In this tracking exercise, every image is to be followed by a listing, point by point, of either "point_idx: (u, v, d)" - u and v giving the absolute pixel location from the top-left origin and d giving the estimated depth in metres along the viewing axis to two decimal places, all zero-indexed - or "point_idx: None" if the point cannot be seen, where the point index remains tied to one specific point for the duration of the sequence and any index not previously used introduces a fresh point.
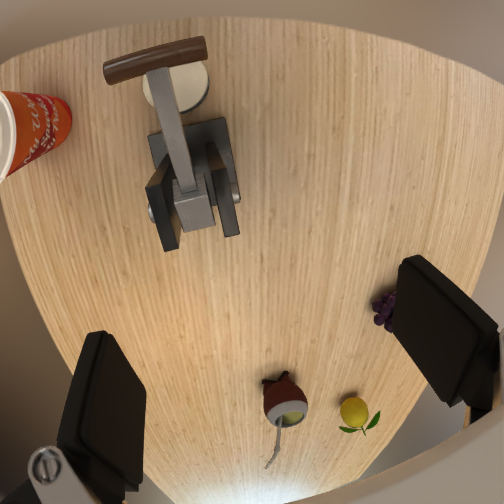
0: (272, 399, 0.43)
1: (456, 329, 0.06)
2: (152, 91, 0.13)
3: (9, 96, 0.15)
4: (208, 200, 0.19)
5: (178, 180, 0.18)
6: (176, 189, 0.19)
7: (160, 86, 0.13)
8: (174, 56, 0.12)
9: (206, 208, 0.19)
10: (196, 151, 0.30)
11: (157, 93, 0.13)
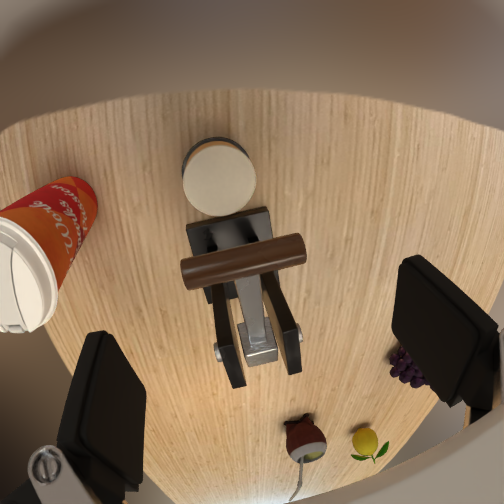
0: (295, 441, 0.44)
1: (456, 329, 0.06)
2: (239, 292, 0.14)
3: (33, 225, 0.15)
4: (277, 350, 0.19)
5: (250, 338, 0.18)
6: (244, 338, 0.20)
7: (249, 288, 0.14)
8: (270, 267, 0.12)
9: (273, 354, 0.20)
10: (238, 245, 0.30)
11: (244, 293, 0.14)
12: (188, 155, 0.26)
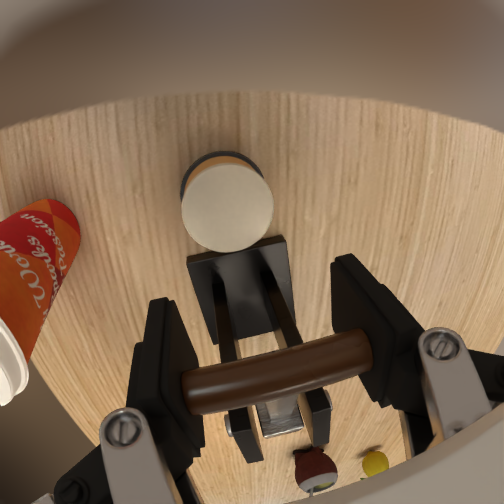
0: (305, 472, 0.39)
1: (374, 328, 0.07)
2: (268, 404, 0.09)
3: None
4: (302, 427, 0.14)
5: (272, 420, 0.13)
6: (263, 414, 0.15)
7: (282, 399, 0.09)
8: (320, 385, 0.07)
9: (297, 429, 0.15)
10: (249, 281, 0.25)
11: (275, 403, 0.09)
12: (188, 174, 0.21)
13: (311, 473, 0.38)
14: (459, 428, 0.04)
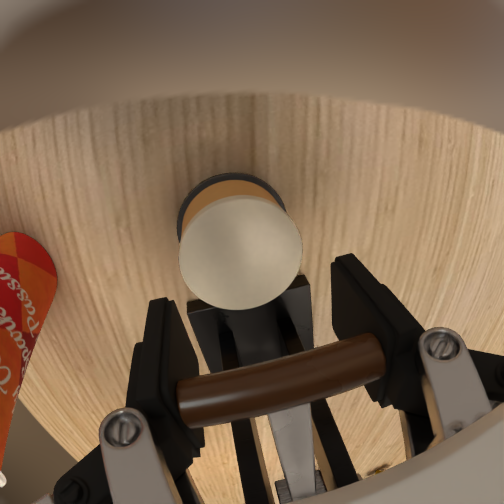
0: None
1: (374, 328, 0.07)
2: (277, 436, 0.07)
3: None
4: None
5: (293, 499, 0.10)
6: (285, 498, 0.10)
7: (292, 428, 0.07)
8: (328, 389, 0.07)
9: None
10: (263, 330, 0.21)
11: (285, 437, 0.07)
12: (186, 203, 0.17)
13: None
14: (459, 428, 0.04)
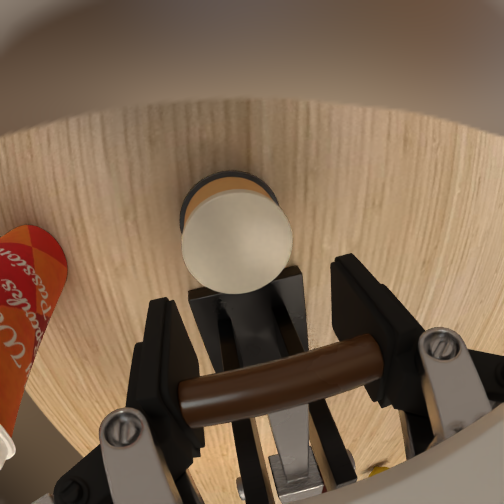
0: None
1: (374, 328, 0.07)
2: (275, 429, 0.08)
3: None
4: (322, 486, 0.11)
5: (287, 476, 0.11)
6: (278, 473, 0.12)
7: (290, 423, 0.07)
8: (327, 392, 0.07)
9: (317, 490, 0.11)
10: (259, 317, 0.22)
11: (283, 430, 0.08)
12: (188, 198, 0.18)
13: None
14: (459, 428, 0.04)
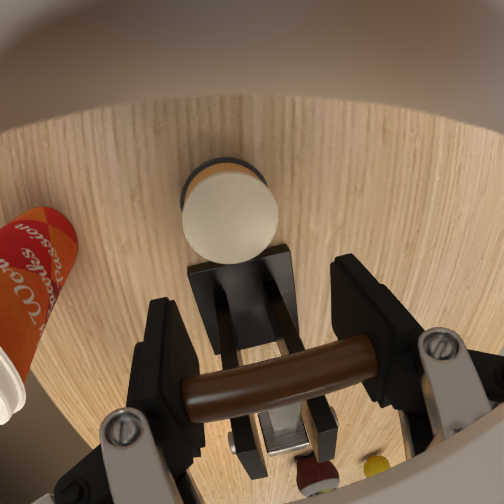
0: (307, 478, 0.38)
1: (373, 328, 0.07)
2: (271, 415, 0.08)
3: None
4: (307, 444, 0.14)
5: (276, 436, 0.13)
6: (267, 431, 0.14)
7: (285, 410, 0.08)
8: (323, 392, 0.07)
9: (302, 446, 0.14)
10: (251, 291, 0.25)
11: (278, 414, 0.08)
12: (188, 181, 0.21)
13: (313, 479, 0.38)
14: (459, 428, 0.04)
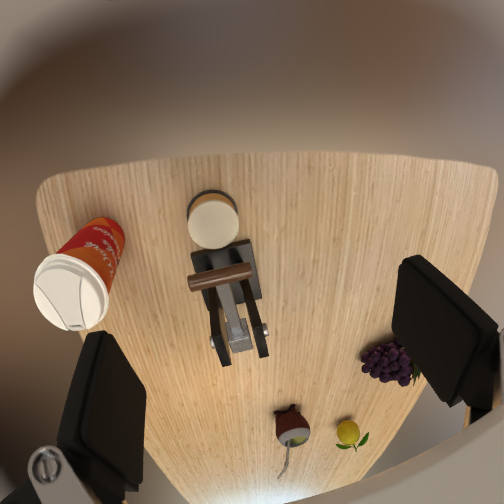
0: (282, 426, 0.54)
1: (456, 329, 0.06)
2: (219, 294, 0.25)
3: (91, 260, 0.26)
4: (250, 339, 0.30)
5: (231, 329, 0.29)
6: (229, 330, 0.30)
7: (224, 292, 0.25)
8: (233, 279, 0.24)
9: (248, 342, 0.30)
10: None
11: (222, 295, 0.25)
12: (191, 203, 0.37)
13: (287, 427, 0.53)
14: None
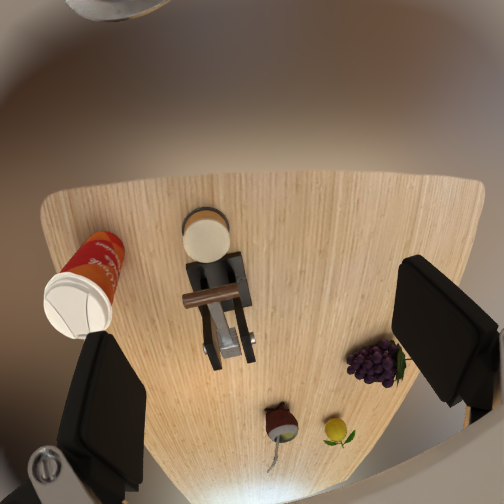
0: (272, 423, 0.58)
1: (456, 329, 0.06)
2: (210, 310, 0.28)
3: (95, 277, 0.29)
4: (238, 347, 0.33)
5: (222, 338, 0.33)
6: (220, 339, 0.34)
7: (214, 308, 0.28)
8: (222, 298, 0.27)
9: (237, 349, 0.34)
10: (221, 277, 0.44)
11: (213, 311, 0.28)
12: (186, 220, 0.40)
13: (276, 424, 0.57)
14: None
